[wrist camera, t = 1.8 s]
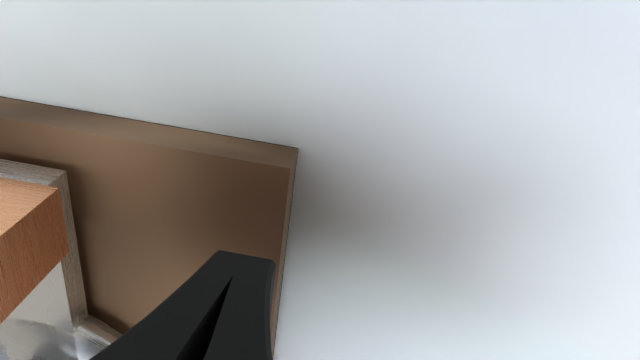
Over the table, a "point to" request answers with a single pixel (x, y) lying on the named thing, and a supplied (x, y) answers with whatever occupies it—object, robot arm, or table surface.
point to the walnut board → (155, 201)
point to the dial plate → (54, 297)
